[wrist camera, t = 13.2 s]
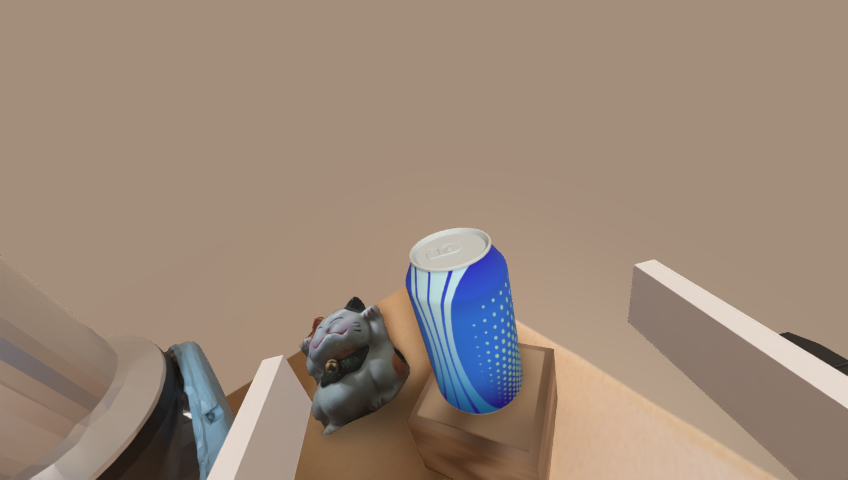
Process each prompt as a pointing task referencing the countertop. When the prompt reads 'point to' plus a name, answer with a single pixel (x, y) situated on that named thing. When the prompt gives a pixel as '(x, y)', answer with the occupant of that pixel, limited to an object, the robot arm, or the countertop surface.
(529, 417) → the block
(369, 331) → the lucky cat figurine
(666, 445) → the countertop surface
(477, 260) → the beer can
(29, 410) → the robot arm
